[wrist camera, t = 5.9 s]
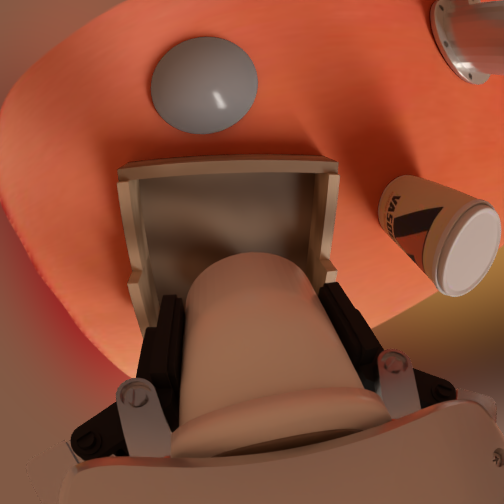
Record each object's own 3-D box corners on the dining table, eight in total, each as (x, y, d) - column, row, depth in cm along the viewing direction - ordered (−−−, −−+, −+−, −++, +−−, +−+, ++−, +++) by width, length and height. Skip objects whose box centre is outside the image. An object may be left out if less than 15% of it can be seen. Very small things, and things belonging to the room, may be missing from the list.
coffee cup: (366, 177, 26) (445, 220, 16) (429, 160, 26) (507, 194, 16) (373, 252, 31) (433, 315, 20) (430, 230, 31) (493, 278, 20)
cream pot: (168, 250, 10) (131, 433, 4) (327, 240, 11) (433, 384, 5) (189, 359, 13) (191, 495, 7) (309, 348, 14) (355, 470, 7)
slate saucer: (153, 43, 18) (151, 41, 17) (256, 39, 19) (258, 37, 18) (154, 137, 22) (152, 138, 21) (255, 132, 23) (257, 133, 22)
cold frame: (129, 162, 22) (101, 179, 16) (323, 155, 25) (358, 171, 19) (156, 318, 31) (148, 363, 25) (305, 308, 33) (324, 349, 27)
